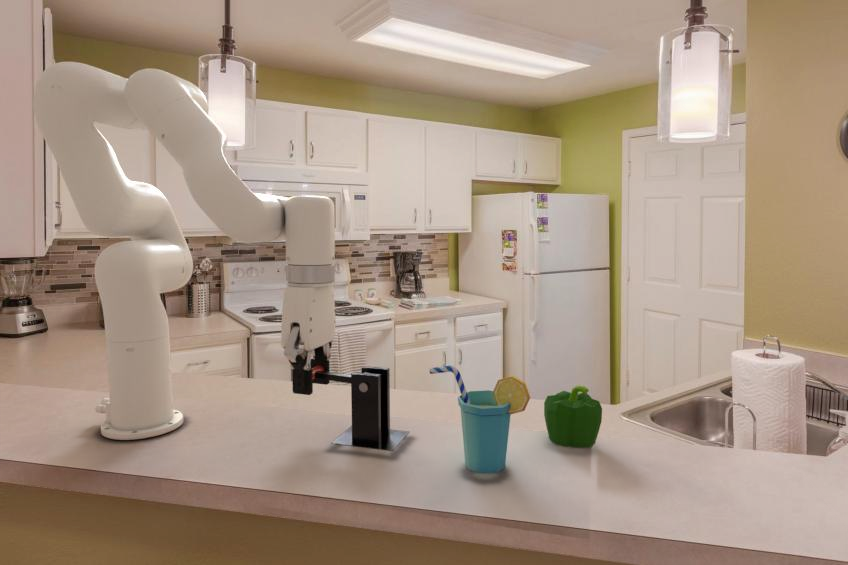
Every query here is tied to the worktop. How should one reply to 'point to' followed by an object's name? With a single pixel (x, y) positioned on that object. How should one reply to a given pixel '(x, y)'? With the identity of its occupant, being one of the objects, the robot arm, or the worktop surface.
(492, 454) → the cup
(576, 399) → the bell pepper
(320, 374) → the lever
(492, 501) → the worktop surface
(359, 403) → the bracket
